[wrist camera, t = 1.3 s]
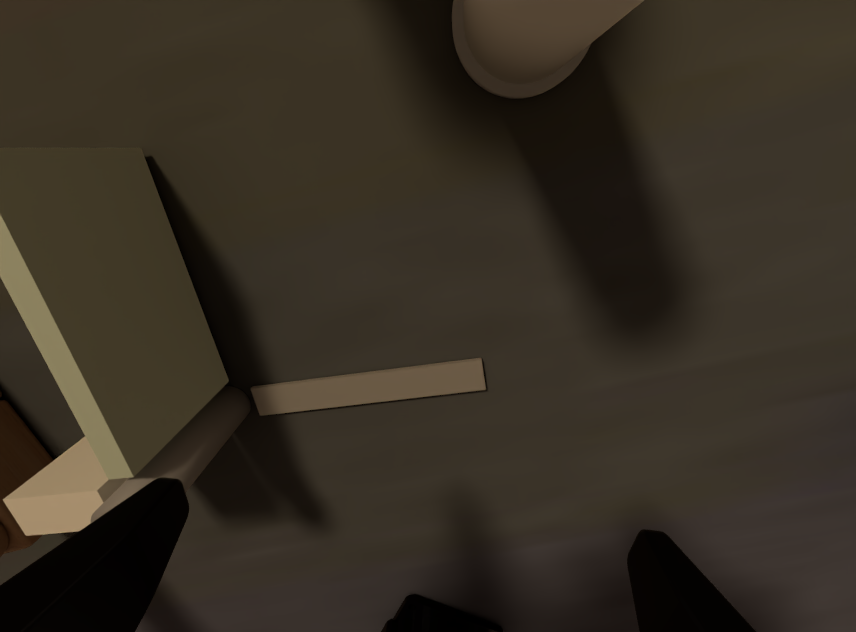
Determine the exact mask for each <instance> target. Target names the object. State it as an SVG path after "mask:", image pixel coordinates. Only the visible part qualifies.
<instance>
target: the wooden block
mask: <svg viewBox="0 0 856 632" xmlns="http://www.w3.org/2000/svg"><path fill="white" fill-rule="evenodd" d="M1 396H2V393H1V391H0V397H1ZM52 461H54V460H53V459H52V457H51V456H50V455H49V454H48V452H47V451H46V450H45V449H44V447H43V446H42V445H41V443H40V442H39V441H38V440H37V438H36V437H35V436H34V435H33V433H32V432H31V431H30V429H29V428H28V427H27V426H26V424H25V423H24V422H23V420H22V419H21V418H20V417H19V415H18V414H17V413H16V412H15V410H14V409H13V408H12V406H11V405H10V404H9V403H8V402H7V401H5V400H0V557H1V556H2V555H3V554H5V553H9V552H13V551H17V550H20V549H24V548H27V547H29V546H31V545H32V544H33V543H35V542H36V541H37V540H38V539H39V538H40V537H41V536H42V535H43V534H42V535H30V536H26V535H25V534H24V532H23V530H22V529H21V527H20V526H19V524H18V523H17V521H16V520H15V518H14V517H13V515H12V514H11V512H10V511H9V509H8V507H7V506H6V504H5V503H4V501H3V499H4V498H6V497H7V496H8V495H10V494H11V493H12V492H13V491H15V490H16V489H17V488H19V487H20V486H21V485H23V484H24V483H25V482H26V481H28V480H29V479H30V478H32V477H33V476H34V475H36V474H37V473H38V472H39V471H41V470H42V469H43V468H45V467H46V466H47V465H49V464H50V463H51V462H52Z"/></svg>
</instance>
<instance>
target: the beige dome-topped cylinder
mask: <svg viewBox="0 0 856 632" xmlns="http://www.w3.org/2000/svg"><path fill="white" fill-rule="evenodd" d="M643 1H644V0H454V1H453V8H452V31H453V39H454V45H455V48H456V52H457V55H458V57H459V60H460V62H461V64H462V66H463V67H464V69H465V71H466V72H467V73H468V75H469V76H470V77H471V79H472V80H473V81H474V82H475V83H476V84H478V85H479V86H480V87H481V88H483V89H484V90H486V91H488V92H490V93H491V94H494V95H497V96H499V97H504V98H509V99H524V98H529V97H534V96H536V95H539V94H542V93H544V92H546V91H548V90H550V89H551V88H553V87H554V86H556V85H557V84H559V83H560V82H562V81H563V80H564V79H565V78H567V77H568V76H569V75H570V74H571V73H572V72H573V71H574V70H575V69H576V67H577V66H578V65H579V64H580V62H581V61H582V59H583V58H584V56H585V55H586V53H587V51H588V49H589V47H590V45H591V43H592V42H593V41H594V40H596V39H597V38H598V37H599V36H601V35H602V34H603V33H604V32H606V31H607V30H608V29H609V28H611V27H612V26H613V25H614V24H616V23H617V22H618V21H619V20H621V19H622V18H623V17H624V16H626V15H627V14H628V13H629V12H630V11H632V10H633V9H634V8H635V7H637V6H638V5H639V4H640V3H642V2H643Z"/></svg>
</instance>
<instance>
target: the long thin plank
mask: <svg viewBox="0 0 856 632" xmlns="http://www.w3.org/2000/svg"><path fill="white" fill-rule="evenodd" d="M479 390H486V386H485V380H484V373H483V366H482V359H481V358H475V359H467V360H459V361H451V362H443V363H435V364H427V365H419V366H411V367H403V368H395V369H387V370H379V371H371V372H363V373H355V374H348V375H340V376H332V377H324V378H316V379H308V380H300V381H292V382H284V383H276V384H268V385H260V386H252V388H251V392H252V395H253V398H254V400H255V403H256V406H257V409H258V412H259V414H260V416H263V415H272V414H280V413H289V412H298V411H306V410H315V409H324V408H332V407H341V406H349V405H358V404H367V403H375V402H384V401H392V400H401V399H410V398H418V397H427V396H436V395H444V394H453V393H461V392H470V391H479ZM250 410H251V402H250V400H249V398H248V396H247V395H246V394H245V393H244V392H243V391H242V390H240V389H238V388H236V387H232V386H224V387H223V388H222V389H221V390H220V391H219V392H218V393H217V394H216V395H215V396H214V397H213V398H212V399H211V400H210V401H209V402H208V403H207V404H206V405H205V406H204V407H203V408H202V409H201V410H200V411H199V412H198V413H197V414H196V415H195V416H194V417H193V418H192V419H191V420H190V421H189V422H188V423H187V424H186V425H185V426H184V427H183V428H182V429H181V430H180V431H179V432H178V433H177V434H176V435H175V436H174V437H173V438H172V439H171V440H170V441H169V442H168V443H167V444H166V445H165V446H164V447H163V448H162V449H161V450H160V451H159V452H158V453H157V454H156V455H155V456H154V457H153V458H152V459H151V460H150V461H149V462H148V463H147V464H146V465H145V466H144V467H143V468H142V469H141V470H140V471H139V472H138V473H137V474H136V475H135V476H134V477H130V478H120V479H110V480H108V478H107V476H106V474H105V472H104V470H103V468H102V466H101V465H100V463H99V461H98V459H97V457H96V455H95V453H94V451H93V450H92V448H91V446H90V444H89V442H88V440H87V438H86V436H85V437H84V438H82V439H81V440H80V441H79V442H77V443H76V444H75V445H73V446H72V447H71V448H69V449H68V450H67V451H66V452H64V453H63V454H62V455H60V456H59V457H58V458H56V459H55V460H54V461H52V462H51V463H50V464H49V465H47V466H46V467H45V468H43V469H42V470H41V471H39V472H38V473H37V474H36V475H34V476H33V477H32V478H30V479H29V480H28V481H26V482H25V483H24V484H23V485H21V486H20V487H19V488H17V489H16V490H15V491H13V492H12V493H11V494H10V495H8V496H7V497H6V498H4V499H3V501H4V503H5V504H6V506H7V507H8V509H9V511H10V512H11V514H12V515H13V517H14V518H15V520H16V521H17V523H18V524H19V526H20V527H21V529H22V530H23V532H24V534H25V535H26V536H30V535H42V534H54V533H65V532H77V531H80V530H82V529H83V528H85V527H86V526H88V525H89V524H90V523H92V522H93V521H95V520H96V519H98V518H99V517H101V516H102V515H104V514H105V513H106V512H108V511H109V510H111V509H112V508H114V507H115V506H117V505H118V504H120V503H121V502H122V501H124V500H125V499H127V498H128V497H130V496H131V495H133V494H134V493H136V492H137V491H139V490H140V489H141V488H143V487H144V486H146V485H147V484H149V483H150V482H152V481H153V480H155V479H157V478H160V477H166V478H175V479H179V480H180V481H181V482H182V483H183V487H184V490H185V493H186V492H187V490H188V489H189V488H190V487H191V485H192V484H193V483H194V482H195V480H196V479H197V478H198V477H199V475H200V474H201V473H202V472H203V470H204V469H205V468H206V467H207V465H208V464H209V463H210V462H211V460H212V459H213V458H214V457H215V455H216V454H217V453H218V452H219V450H220V449H221V448H222V446H223V445H224V444H225V443H226V441H227V440H228V439H229V438H230V436H231V435H232V434H233V433H234V431H235V430H236V429H237V428H238V426H239V425H240V424H241V423H242V421H243V420H244V419H245V418H246V416H247V415H248V414H249V412H250Z"/></svg>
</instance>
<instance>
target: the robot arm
mask: <svg viewBox="0 0 856 632" xmlns="http://www.w3.org/2000/svg"><path fill="white" fill-rule="evenodd" d="M188 513H189V503H188V500H187V497H186V493H185V490H184V487H183V483H182V482H181V481H180V480H179V479H175V478H166V477H160V478H157V479H155V480H153V481H152V482H150V483H149V484H147V485H146V486H144V487H143V488H141V489H140V490H139V491H137V492H136V493H134V494H133V495H131V496H130V497H128V498H127V499H125V500H124V501H122V502H121V503H120V504H118V505H117V506H115V507H114V508H112V509H111V510H109V511H108V512H106V513H105V514H104V515H102V516H101V517H99V518H98V519H96V520H95V521H93V522H92V523H90V524H89V525H88V526H86V527H85V528H83V529H82V530H80V531H79V532H77V533H76V534H74V535H73V536H72V537H70V538H69V539H67V540H66V541H64V542H63V543H61V544H60V545H58V546H57V547H56V548H54V549H53V550H51V551H50V552H48V553H47V554H45V555H44V556H42V557H41V558H40V559H38V560H37V561H35V562H34V563H32V564H31V565H29V566H28V567H26V568H25V569H24V570H22V571H21V572H19V573H18V574H16V575H15V576H13V577H12V578H10V579H9V580H8V581H6V582H5V583H3V584H2V585H0V632H135V631H136V629H137V627H138V625H139V623H140V621H141V619H142V618H143V616H144V614H145V612H146V610H147V608H148V606H149V604H150V602H151V600H152V598H153V596H154V594H155V592H156V590H157V587H158V585H159V583H160V580H161V578H162V576H163V573H164V571H165V569H166V566H167V564H168V562H169V559H170V557H171V555H172V552H173V550H174V548H175V545H176V543H177V541H178V538H179V536H180V534H181V531H182V529H183V527H184V524H185V522H186V520H187V517H188ZM627 564H628V571H629V577H630V582H631V587H632V593H633V598H634V604H635V609H636V614H637V620H638V625H639V631H640V632H756V631H755V630H754V629H753V628H752V627H751V626H750V625H749V623H748V622H747V621H746V620H745V619H744V618H743V617H742V616H741V615H740V614H739V613H738V611H737V610H736V609H735V608H734V607H733V606H732V605H731V604H730V603H729V602H728V601H727V599H726V598H725V597H724V596H723V595H722V594H721V593H720V592H719V591H718V590H717V589H716V587H715V586H714V585H713V584H712V583H711V582H710V581H709V580H708V579H707V578H706V577H705V576H704V574H703V573H702V572H701V571H700V570H699V569H698V568H697V567H696V566H695V565H694V564H693V562H692V561H691V560H690V559H689V558H688V557H687V556H686V555H685V554H684V553H683V552H682V550H681V549H680V548H679V547H678V546H677V545H676V544H675V543H674V542H673V541H672V540H671V538H670V537H669V536H668V535H666V534H665V533H663V532H661V531H654V530H641V531H640V532H639V533H638V535H637V537H636V539H635V541H634V543H633V545H632V547H631V549H630V552H629V554H628V559H627ZM381 632H503V629H502V628H501V627H500V626H498V625H495V624H492V623H490V622H487V621H484V620H482V619H479V618H476V617H473V616H471V615H468V614H465V613H462V612H460V611H457V610H454V609H451V608H449V607H446V606H443V605H441V604H438V603H435V602H432V601H430V600H427V599H424V598H421V597H419V596H416V595H409V596H407V597H406V598H405V600H404V601H403V603H402V605H401V606H400V608H399V610H398V611H397V613H396V615H395V616H394V618H393V619H390V620H389V621H387V623H386V624H385V626H384V628H383V629H382V631H381Z"/></svg>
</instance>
